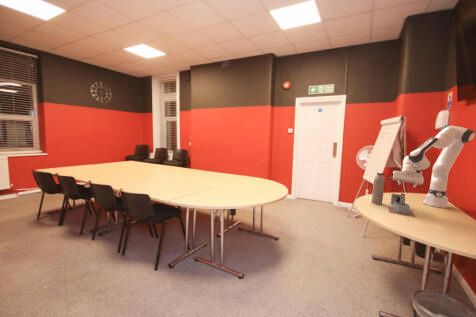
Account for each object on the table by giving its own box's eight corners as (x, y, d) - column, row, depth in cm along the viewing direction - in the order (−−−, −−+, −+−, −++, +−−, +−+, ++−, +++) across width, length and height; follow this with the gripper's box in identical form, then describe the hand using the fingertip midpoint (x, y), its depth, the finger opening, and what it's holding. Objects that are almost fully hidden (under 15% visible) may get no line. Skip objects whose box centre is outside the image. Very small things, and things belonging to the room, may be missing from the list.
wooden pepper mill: (370, 202, 201) (373, 172, 198) (380, 204, 198) (384, 173, 195) (372, 205, 193) (376, 173, 190) (383, 206, 191) (386, 174, 188)
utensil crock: (392, 208, 182) (393, 201, 182) (407, 210, 177) (408, 203, 177) (393, 211, 174) (394, 204, 173) (409, 214, 169) (410, 206, 168)
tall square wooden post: (397, 209, 175) (399, 193, 174) (398, 208, 178) (400, 193, 177) (403, 211, 173) (406, 195, 171) (404, 210, 176) (406, 194, 174)
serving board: (387, 207, 188) (387, 206, 188) (411, 211, 180) (411, 210, 180) (389, 214, 171) (389, 212, 171) (415, 219, 163) (415, 217, 163)
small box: (404, 209, 185) (406, 197, 184) (395, 208, 186) (397, 196, 185) (398, 205, 195) (399, 194, 194) (389, 205, 197) (391, 193, 195)
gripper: (393, 167, 189) (392, 181, 182) (424, 172, 178) (424, 186, 171) (392, 172, 193) (390, 185, 187) (422, 176, 183) (421, 190, 176)
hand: (407, 186), depth 179 cm, fingers open, 8 cm apart
